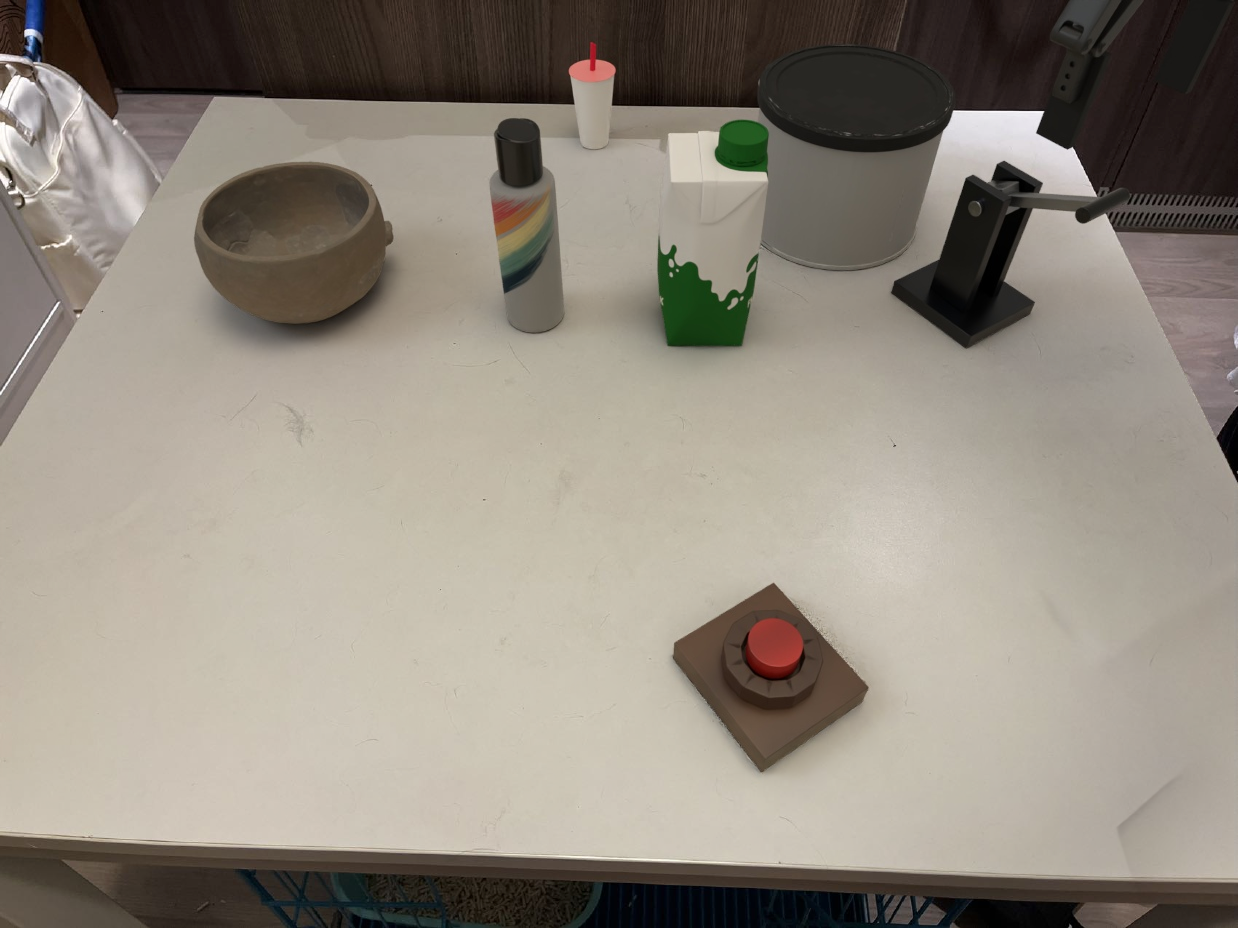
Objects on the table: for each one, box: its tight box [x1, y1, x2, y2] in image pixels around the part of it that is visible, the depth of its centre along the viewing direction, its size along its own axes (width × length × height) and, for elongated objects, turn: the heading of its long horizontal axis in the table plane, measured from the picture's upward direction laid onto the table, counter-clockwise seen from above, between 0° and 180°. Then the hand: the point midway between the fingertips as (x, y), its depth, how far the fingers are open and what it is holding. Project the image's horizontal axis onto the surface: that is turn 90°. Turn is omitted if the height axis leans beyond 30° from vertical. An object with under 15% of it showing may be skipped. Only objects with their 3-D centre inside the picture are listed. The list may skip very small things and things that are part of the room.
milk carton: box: [656, 119, 769, 347], centre depth 80 cm, size 9×9×20 cm
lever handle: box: [987, 180, 1131, 225], centre depth 76 cm, size 12×5×2 cm, turn 33°
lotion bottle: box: [488, 117, 565, 334], centre depth 80 cm, size 6×6×20 cm
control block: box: [672, 582, 870, 773], centre depth 61 cm, size 10×9×4 cm
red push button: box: [746, 618, 803, 679], centre depth 59 cm, size 4×4×2 cm
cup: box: [568, 41, 617, 150], centre depth 104 cm, size 5×5×12 cm
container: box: [756, 43, 957, 271], centre depth 92 cm, size 19×19×15 cm
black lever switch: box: [891, 160, 1044, 349], centre depth 83 cm, size 10×9×14 cm
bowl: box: [193, 161, 394, 324], centre depth 87 cm, size 17×18×10 cm
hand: (1115, 112), depth 65 cm, fingers open, 13 cm apart
